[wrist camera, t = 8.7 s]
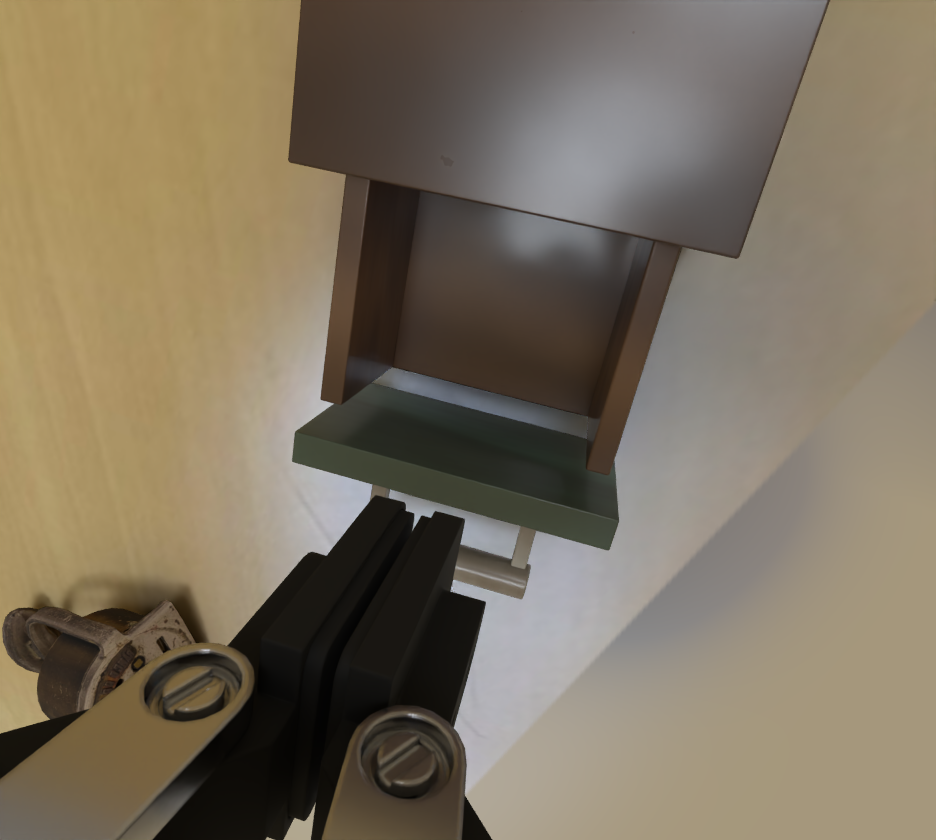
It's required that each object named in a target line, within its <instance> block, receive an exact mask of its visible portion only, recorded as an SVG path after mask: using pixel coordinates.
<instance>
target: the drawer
mask: <svg viewBox="0 0 936 840" xmlns="http://www.w3.org/2000/svg"><path fill="white" fill-rule="evenodd" d="M681 248H682V247H680V246H675V245H670V244H666V243H661V242H656V241H652V240H647V239H642V238H638V237H633V236H629V235H624V234H619V233H615V232H610V231H605V230H601V229H596V228H591V227H587V226H582V225H578V224H573V223H568V222H564V221H559V220H554V219H550V218H545V217H540V216H536V215H531V214H527V213H522V212H517V211H513V210H508V209H503V208H499V207H494V206H489V205H485V204H480V203H476V202H471V201H466V200H462V199H457V198H452V197H448V196H443V195H438V194H434V193H429V192H424V191H420V190H415V189H411V188H406V187H401V186H397V185H392V184H387V183H383V182H378V181H373V180H369V179H364V178H360V177H355V176H350V175H346V180H345V189H344V197H343V206H342V215H341V224H340V232H339V241H338V250H337V259H336V268H335V276H334V285H333V294H332V303H331V311H330V320H329V329H328V338H327V347H326V355H325V364H324V373H323V382H322V390H321V400H324V401H327V402H331V403H334V404H333V405H332V406H330V407H329V408H328V409H326V410H325V411H323V412H322V413H321V414H319V415H318V416H316V417H315V418H314V419H312V420H311V421H309V422H308V423H307V424H305V425H304V426H303V427H301V428H300V429H298V430H297V431H296V432H295V438H294V448H293V458H292V462H295V463H298V464H302V465H306V466H309V467H313V468H316V469H320V470H323V471H327V472H330V473H334V474H338V475H341V476H345V477H348V478H352V479H355V480H359V481H363V482H366V483H370V484H373V486H372V492H371V499H372V498H373V497H374V496H375V495H378V496H382V497H386V498H389V492H390V489H391V490H395V491H398V492H402V493H405V494H409V495H412V496H416V497H419V498H423V499H427V500H430V501H434V502H437V503H441V504H444V505H448V506H451V507H455V508H459V509H462V510H466V511H469V512H473V513H476V514H480V515H483V516H487V517H491V518H494V519H498V520H501V521H505V522H508V523H512V524H516V525H519V526H521V527H520V530H519V534H518V538H517V542H516V545H515V549H514V553H513V557H512V559H509V558H505V557H502V556H499V555H495V554H492V553H488V552H485V551H481V550H478V549H474V548H471V547H467V546H464V545H460V548H459V553H458V557H457V562H456V567H455V572H454V576H453V579H454V580H457V581H460V582H464V583H467V584H470V585H474V586H477V587H481V588H484V589H487V590H491V591H494V592H497V593H501V594H504V595H507V596H511V597H514V598H518V599H523V596H524V593H525V590H526V586H527V582H528V578H529V574H530V569H531V565H530V564H527V561H528V558H529V554H530V551H531V547H532V543H533V540H534V536H535V533H536V530H537V531H540V532H544V533H548V534H551V535H555V536H558V537H562V538H565V539H569V540H572V541H576V542H580V543H583V544H587V545H590V546H594V547H597V548H601V549H604V550H609V549H610V547H611V544H612V541H613V538H614V535H615V532H616V529H617V526H618V523H619V514H618V501H617V487H616V474H615V460H614V459H615V456H616V453H617V450H618V447H619V444H620V440H621V437H622V434H623V431H624V428H625V425H626V422H627V418H628V415H629V412H630V409H631V406H632V403H633V400H634V396H635V393H636V390H637V387H638V384H639V381H640V377H641V374H642V371H643V368H644V365H645V362H646V359H647V355H648V352H649V349H650V346H651V343H652V340H653V337H654V333H655V330H656V327H657V324H658V321H659V318H660V314H661V311H662V308H663V305H664V302H665V299H666V296H667V292H668V289H669V286H670V283H671V280H672V277H673V274H674V270H675V267H676V264H677V261H678V258H679V255H680V252H681ZM392 367H395V368H399V369H403V370H407V371H411V372H415V373H418V374H422V375H426V376H430V377H434V378H438V379H442V380H446V381H450V382H454V383H458V384H462V385H466V386H470V387H473V388H477V389H481V390H485V391H489V392H493V393H497V394H501V395H505V396H509V397H513V398H517V399H521V400H524V401H528V402H532V403H536V404H540V405H544V406H548V407H552V408H556V409H560V410H564V411H568V412H572V413H576V414H579V415H583V416H587V417H588V422H587V439H586V438H582V437H578V436H574V435H570V434H566V433H563V432H559V431H555V430H551V429H547V428H543V427H539V426H536V425H532V424H528V423H524V422H520V421H516V420H512V419H509V418H505V417H501V416H497V415H493V414H489V413H485V412H482V411H478V410H474V409H470V408H466V407H462V406H458V405H455V404H451V403H447V402H443V401H439V400H435V399H431V398H428V397H424V396H420V395H416V394H412V393H408V392H404V391H401V390H397V389H393V388H389V387H385V386H381V385H377V384H374V383H372V382H373V381H374V380H376V379H377V378H378V377H380V376H381V375H382V374H384V373H385V372H386V371H388V370H389V369H390V368H392ZM371 499H370V501H371Z"/></svg>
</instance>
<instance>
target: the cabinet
mask: <svg viewBox="0 0 936 840" xmlns="http://www.w3.org/2000/svg"><path fill="white" fill-rule="evenodd" d="M829 2H830V0H301V9H300V22H299V34H298V47H297V59H296V71H295V84H294V96H293V109H292V121H291V133H290V146H289V158H288V160H289V162H290V163H295V164H299V165H304V166H309V167H313V168H318V169H322V170H327V171H332V172H336V173H341V174H346V175H350V176H355V177H360V178H364V179H369V180H373V181H378V182H383V183H387V184H392V185H397V186H401V187H406V188H411V189H415V190H420V191H424V192H429V193H434V194H438V195H443V196H448V197H452V198H457V199H462V200H466V201H471V202H476V203H480V204H485V205H489V206H494V207H499V208H503V209H508V210H513V211H517V212H522V213H527V214H531V215H536V216H540V217H545V218H550V219H554V220H559V221H564V222H568V223H573V224H578V225H582V226H587V227H591V228H596V229H601V230H605V231H610V232H615V233H619V234H624V235H629V236H633V237H638V238H642V239H647V240H652V241H656V242H661V243H666V244H670V245H675V246H680V247H684V248H689V249H694V250H698V251H703V252H707V253H712V254H717V255H721V256H726V257H731V258H735V259H737V258H739V256H740V253H741V251H742V248H743V245H744V242H745V239H746V237H747V234H748V231H749V228H750V225H751V222H752V220H753V217H754V214H755V211H756V208H757V205H758V203H759V200H760V197H761V194H762V191H763V188H764V186H765V183H766V180H767V177H768V174H769V171H770V169H771V166H772V163H773V160H774V157H775V154H776V152H777V149H778V146H779V143H780V140H781V137H782V135H783V132H784V129H785V126H786V123H787V121H788V118H789V115H790V112H791V109H792V106H793V104H794V101H795V98H796V95H797V92H798V89H799V87H800V84H801V81H802V78H803V75H804V72H805V70H806V67H807V64H808V61H809V58H810V55H811V53H812V50H813V47H814V44H815V41H816V38H817V36H818V33H819V30H820V27H821V24H822V21H823V19H824V16H825V13H826V10H827V7H828V5H829Z"/></svg>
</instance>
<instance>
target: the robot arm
mask: <svg viewBox="0 0 936 840" xmlns="http://www.w3.org/2000/svg"><path fill="white" fill-rule="evenodd" d="M405 510H406V504H405V503H404V502H401V501H397V500H393V499H390V498H386V497H382V496H378V495H375V496H374V497H373V498H372V499H371V501H370V502H369V503H368V504H367V506H366V507H365V508H364V509H363V511H362V512H361V513H360V514H359V516H358V517H357V518H356V519H355V521H354V522H353V523H352V524H351V526H350V527H349V528H348V530H347V531H346V532H345V533H344V535H343V536H342V537H341V538H340V540H339V541H338V542H337V543H336V545H335V546H334V547H333V548H332V550H331V551H330V552H329V553H328V555H327V556H325V555H322V554H318V553H315V552H310V553H308V554H307V555H306V556H304V557H303V559H302V560H301V561H300V562H299V563H298V564H297V566H296V567H295V568H294V569H293V570H292V571H291V572H290V574H289V575H288V576H287V577H286V578H285V579H284V581H283V582H282V583H281V584H280V585H279V586H278V588H277V589H276V590H275V591H274V592H273V593H272V595H271V596H270V597H269V598H268V599H267V600H266V602H265V603H264V604H263V605H262V606H261V607H260V609H259V610H258V611H257V612H256V613H255V614H254V616H253V617H252V618H251V619H250V620H249V621H248V623H247V624H246V625H245V626H244V627H243V628H242V630H241V631H240V632H239V633H238V634H237V635H236V637H235V638H234V639H233V640H232V641H231V642H230V644H229V645H228V646H225V645H222V644H216V643H197V644H190V645H184V646H181V647H178V648H175V649H172V650H170V651H167V652H165V653H163V654H162V655H160V656H158V657H157V658H155V659H154V660H152V661H150V662H149V663H148V664H146V665H145V666H144V667H143V668H141V669H140V670H139V671H138V672H136V673H135V674H134V675H132V676H131V677H130V678H129V679H127V680H126V681H125V682H123V683H122V684H121V685H120V686H118V687H117V688H116V689H115V690H113V691H112V692H111V693H109V694H108V695H107V696H106V697H104V698H103V699H102V700H101V701H99V702H98V703H97V704H95V705H94V706H93V707H92V708H90V709H87V710H83V711H79V712H76V713H72V714H69V715H65V716H61V717H58V718H54V719H51V720H47V721H44V722H40V723H36V724H33V725H29V726H26V727H22V728H19V729H15V730H11V731H8V732H4V733H1V734H0V840H265V839H266V838H267V837H269V838H272V839H275V840H283V839H284V837H285V835H286V833H287V831H288V829H289V827H290V825H291V823H292V822H293V820H294V818H297V819H300V820H302V821H305V820H306V819H307V818H308V816H309V814H310V813H311V811H312V809H313V807H314V805H315V802H316V805H315V813H314V820H313V828H312V836H311V840H492V839H491V837H490V835H489V834H488V832H487V831H486V829H485V827H484V826H483V824H482V822H481V821H480V820H479V818H478V816H477V814H476V813H475V811H474V810H473V808H472V806H471V805H470V803H469V801H468V800H467V798H466V796H465V782H466V767H467V764H466V754H465V747H464V745H463V743H462V741H461V739H460V737H459V734H458V733H457V731H456V730H455V729H454V725H455V721H456V718H457V714H458V710H459V707H460V703H461V700H462V696H463V693H464V689H465V685H466V682H467V678H468V674H469V671H470V667H471V663H472V659H473V655H474V651H475V647H476V643H477V639H478V635H479V631H480V627H481V622H482V618H483V614H484V610H485V605H486V602H484V601H481V600H478V599H474V598H471V597H467V596H464V595H460V594H457V593H453V592H450V591H451V586H452V581H453V576H454V572H455V567H456V562H457V557H458V553H459V548H460V543H461V538H462V534H463V529H464V522H465V519H463V518H460V517H456V516H452V515H448V514H445V513H441V512H437V511H435V512H434V514H433V516H432V517H431V518H429V517H425V516H421V518H420V519H419V521H418V523H417V524H416V526H415V528H414V530H413V531H412V528H413V522H414V513H411V512H407V511H405Z"/></svg>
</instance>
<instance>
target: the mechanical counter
mask: <svg viewBox="0 0 936 840" xmlns="http://www.w3.org/2000/svg"><path fill="white" fill-rule="evenodd" d="M2 631H3V643H4V645H5V648H6V650H7V653H8V655H9V656H10V657H11V658H12V659H13V660H14V661H15V663H16V664H18V665H19V666H21V667H23V668H25V669H26V670H29V671H33V672H36V673H39V677H38V683H37V695H38V702H39V704H40V707H41V709H42V711H43V712H44V713H45V715H46V716H47V717H48V718H49V719H54V718H58V717H61V716H65V715H69V714H72V713H76V712H79V711H83V710H87V709H90V708H92V707H93V706H94V705H95V704H97V703H98V702H99V701H101V700H102V699H103V698H104V697H106V696H107V695H108V694H109V693H111V692H112V691H113V690H115V689H116V688H117V687H118V686H120V685H121V684H122V683H123V682H125V681H126V680H127V679H129V678H130V677H131V676H132V675H134V674H135V673H136V672H138V671H139V670H140V669H141V668H143V667H144V666H145V665H146V664H148V663H149V662H150V661H152V660H154V659H155V658H157V657H158V656H160V655H162V654H163V653H165V652H167V651H170V650H172V649H175V648H178V647H181V646H184V645H190V644H196V642H195V640H194V639H193V637H192V635H191V634H190V632H189V630H188V628H187V627H186V625H185V623H184V621H183V620H182V618H181V617H180V615H179V613H178V612H177V610H176V609H175V607H174V606H173V604H172V603H171V602H170V601H168V600H163V601H161V602H160V603H159V605H158V606H157V607H156V608H155V609H153V610H152V611H151V612H150V613H148V614H147V615H146V616H143V615H140V614H137V613H134V612H131V611H128V610H125V609H118V608H111V609H104V610H100V611H97V612H94V613H91V614H89V615H87V616H84V617H81V616H79V615H76V614H74V613H72V612H70V611H67V610H64V609H61V608H56V607H43V608H41V609H39V610H38V609H34V608H18V609H16V610H13V611H11V612H10V613H9V614H8V615H7V616H6V617H5V620H4V624H3V628H2ZM61 632H63V633H62V634H61Z"/></svg>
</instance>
